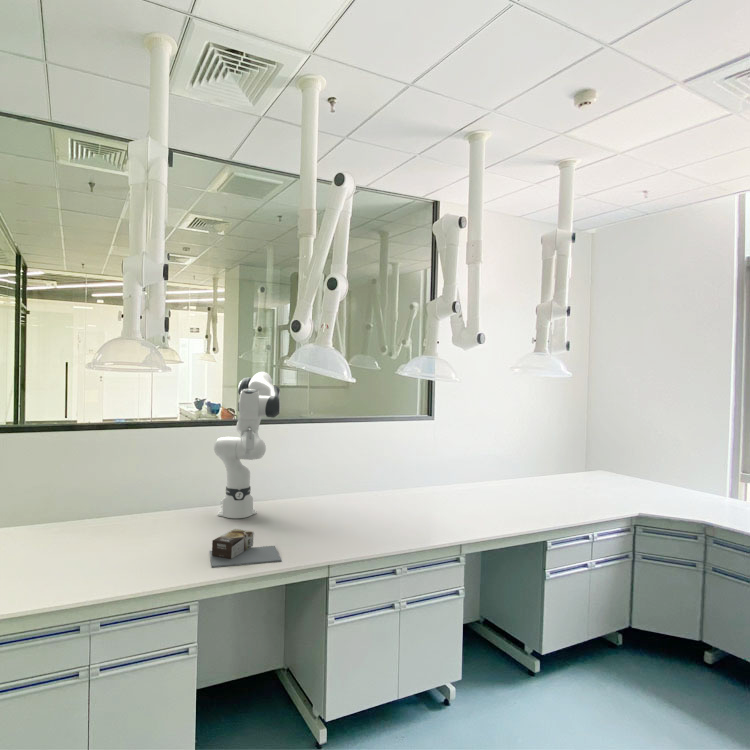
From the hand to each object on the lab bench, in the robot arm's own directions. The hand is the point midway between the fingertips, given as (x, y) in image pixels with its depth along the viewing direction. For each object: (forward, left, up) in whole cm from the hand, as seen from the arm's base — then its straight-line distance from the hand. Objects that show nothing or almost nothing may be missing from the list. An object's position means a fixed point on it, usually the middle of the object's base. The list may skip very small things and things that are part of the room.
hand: (247, 457), depth 226 cm
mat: (+24, -2, -35) cm, 43 cm away
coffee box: (+12, -1, -31) cm, 33 cm away
